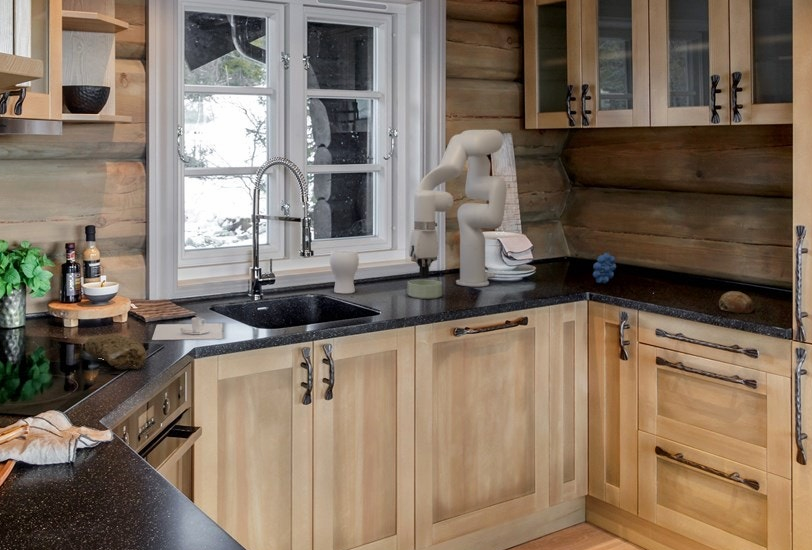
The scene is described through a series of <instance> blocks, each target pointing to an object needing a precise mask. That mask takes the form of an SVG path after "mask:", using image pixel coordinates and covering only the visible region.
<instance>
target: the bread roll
mask: <svg viewBox="0 0 812 550" xmlns="http://www.w3.org/2000/svg"><path fill="white" fill-rule="evenodd" d="M718 305H719V309H720V311H725V312H731V313H734V314H750V313H752V312H753V311H754V308H755V307H754V306H755V305H754V302H753V300H752V298H751V297H750V296H749V295H747V294H746V293H743V292H741V291H738V290H737V291H734V290H731V291H727V292H725V293H723V294H722V295H721V296H720V298H719V300H718Z"/></svg>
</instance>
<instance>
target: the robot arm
mask: <svg viewBox="0 0 812 550" xmlns="http://www.w3.org/2000/svg"><path fill="white" fill-rule="evenodd" d="M503 145H504V136H503V134H502V132H501V131H499V130H498V129H466V130H464V131H462V132H461V133H459V134H458V133H457V134H455V135H452V136H451V138H450V139H449V142H448V144H447V147H446V149H445V151H444V154H443V156H442V158H441V160H440V162H439V165H437V166H436V167H434V168H433V169H432V170H431V171H429V172H428V173H427V174H425V176H424V177H423V178H422V179H421V180H420V181H419V185H418V186H417V189H416V191H415V194H414V199H413V203H414V205H413V207H414V208H413V219H414V220H413V229H411V230H412V231H411V234H410V238H409V246H408V247H409V248H408V255H409V257H410V260H411V262H414V263H416V264H417V266H418V267H419V277H420V278H422V279H428V278H429V277H430V275H429V274H430V267H431V265H432V263H433V262H436V261H437V260H438V256H439V238H438V231H437V229H436V227H438V223H437V222H436V212H439V213H441V212H442V213H443V212H445V213H446V212H449V211H450V210H451V209H452V208H453V205H454V197H453V195H452V194H451V193H450V192H448V191H443V190H434V189H436V187H438V186H441V185H442V184H444V183H446V182H449V181H451V180H454V179H456V178H458V177H459V176H461V174H462V173H463V170H464V167H465V164H466V162H467V171H466V172H467V174H466V180H465V187H464V188H465V189H464V193H465V196H466V197H467V199H469V200H474V201H486V202H487V201H488V203H482V202H466V203H462V204H461V205H460V206H459V208H458V209H457V213H456V214H457V223H458V227H459V228H458V229H459V279H456V280H455V284H456V285H458V286H461V287H470V288H471V287H473V288H481V287H487V286H489V285H490V281H489V279H495V278H496V275H495V273H493V272H490V273H488V272H487V271H486V237H485V235H484V233H483V231H482V229H485V230H497V229H499V228H500V227H501V226H502V224H503V221H504V215H505V208H506V199H507V183H506V181H505V180H504V179H503V177H500V176H497V175H490V174H491V161H490V159H489V157H488V156H489V155H491V154H495V153H497V152H499V151H500V150H501V148H502V147H503Z"/></svg>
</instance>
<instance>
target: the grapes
mask: <svg viewBox="0 0 812 550" xmlns="http://www.w3.org/2000/svg"><path fill="white" fill-rule="evenodd" d="M615 259H616V258H615V257H614V256H613V255H611V254H610V253H609V252H604V254H603V255H599V256H597V259H596V261H597V262H595V263H594V264H593V270H594V271H593V273H592V277H593V278H594V279H595V282H596V283H597V284H599V285H601V284H607V283H609V280H610V279H612V278H613V277H614V275H615V273H614V271H615V270H616V269H617V265H616V263H615V261H616V260H615Z"/></svg>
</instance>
